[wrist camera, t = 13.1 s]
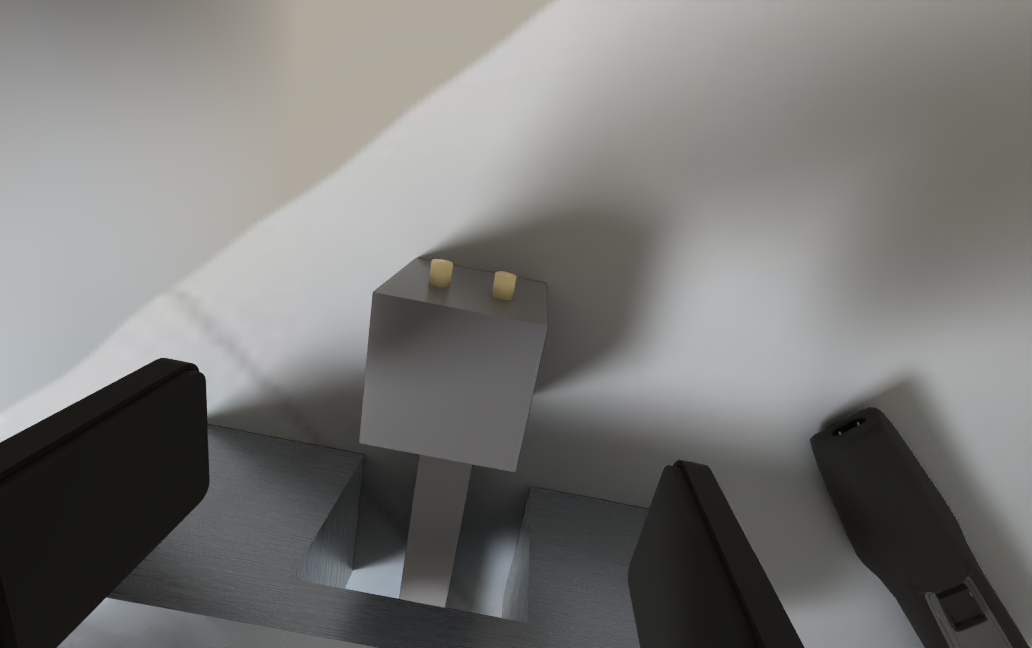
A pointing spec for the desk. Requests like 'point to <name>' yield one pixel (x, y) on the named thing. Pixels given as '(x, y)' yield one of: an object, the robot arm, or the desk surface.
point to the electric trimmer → (909, 535)
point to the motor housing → (329, 562)
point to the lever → (449, 394)
